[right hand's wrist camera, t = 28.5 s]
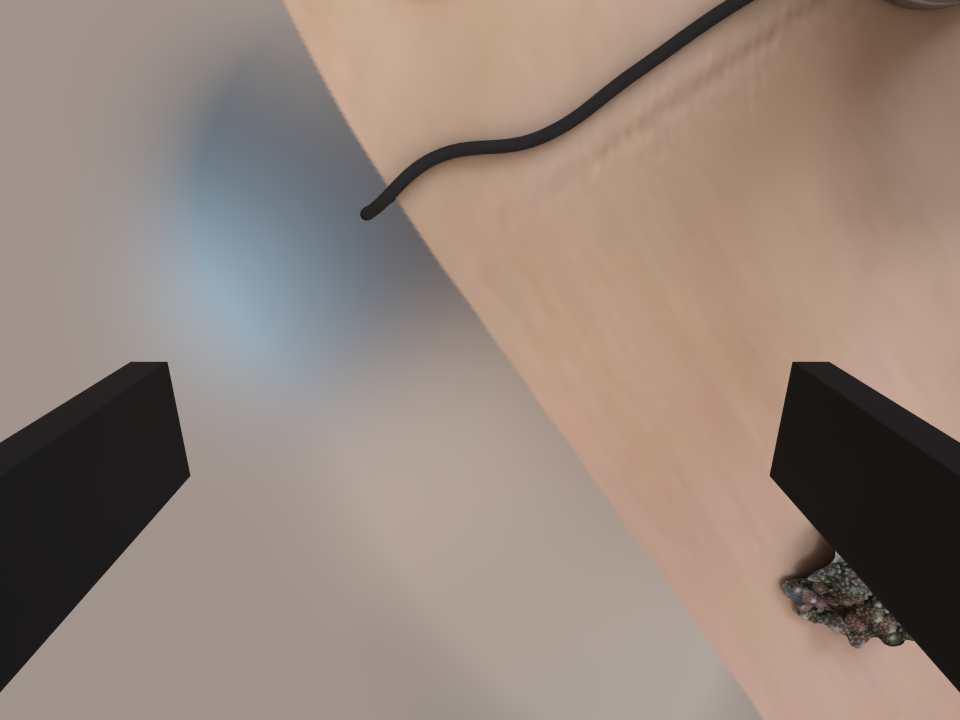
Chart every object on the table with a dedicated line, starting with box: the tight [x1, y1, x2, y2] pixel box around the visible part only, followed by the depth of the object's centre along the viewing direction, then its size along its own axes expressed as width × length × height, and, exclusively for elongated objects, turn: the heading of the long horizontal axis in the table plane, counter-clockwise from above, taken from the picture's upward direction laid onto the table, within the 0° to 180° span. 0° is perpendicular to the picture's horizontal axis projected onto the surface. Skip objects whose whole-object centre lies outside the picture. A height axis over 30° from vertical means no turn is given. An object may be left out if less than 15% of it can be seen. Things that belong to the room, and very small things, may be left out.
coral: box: [782, 552, 914, 648], centre depth 56 cm, size 17×5×15 cm
